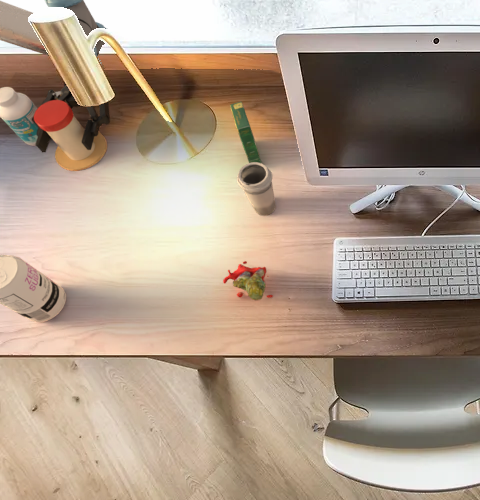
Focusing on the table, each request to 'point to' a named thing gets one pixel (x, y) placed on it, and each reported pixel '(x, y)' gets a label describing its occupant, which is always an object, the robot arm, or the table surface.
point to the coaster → (87, 162)
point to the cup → (258, 187)
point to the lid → (53, 115)
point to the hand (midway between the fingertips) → (63, 147)
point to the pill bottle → (18, 114)
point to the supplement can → (29, 290)
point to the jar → (72, 140)
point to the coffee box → (245, 132)
